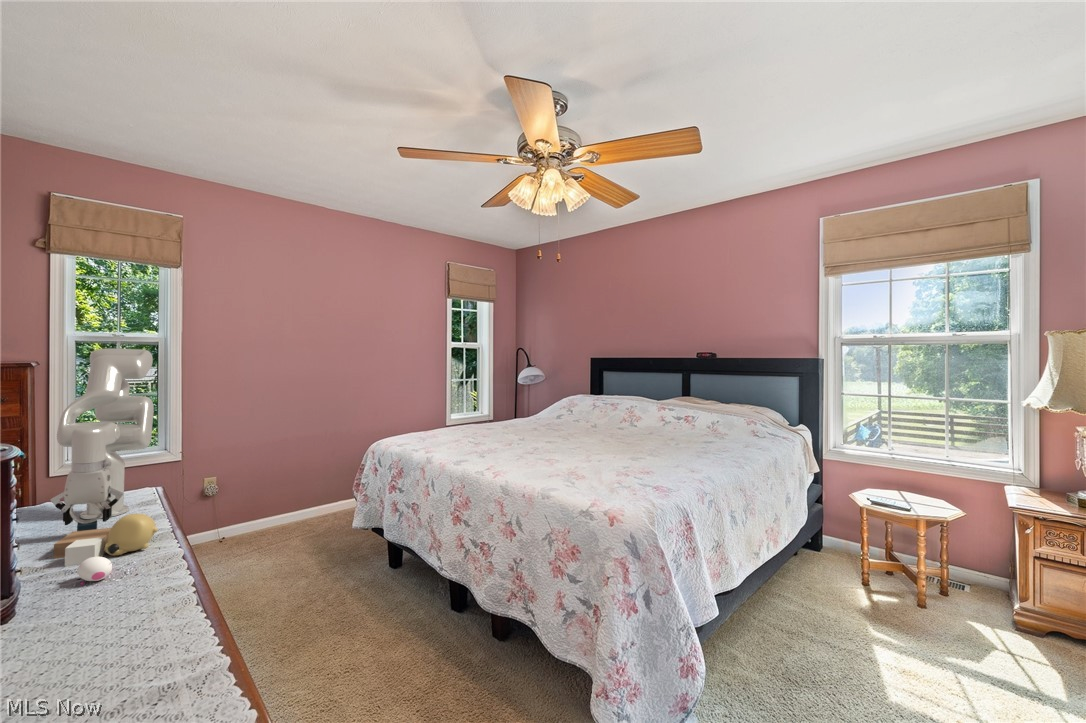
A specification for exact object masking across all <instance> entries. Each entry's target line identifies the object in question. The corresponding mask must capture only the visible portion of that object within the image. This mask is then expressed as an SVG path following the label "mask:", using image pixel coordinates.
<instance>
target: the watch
mask: <svg viewBox="0 0 1086 723" xmlns="http://www.w3.org/2000/svg"><path fill="white" fill-rule="evenodd" d="M92 504H93V505H94V506H95V508H96V509H98V510H99V511H101V513H100V515H99V516H97V517H96V518H92V519H80V518H81V517H80V516H78V515H76V512H75V511H74V506H76V505H75V504H73V505H71V508H70V512H69V513H70V515H71V517H72V518H73V521H74V522H75V523H77V526H76V531H85V530H95V529H98V520H100V519H101V518H100V517H101V516H102V515H103V509H105V507H104V506H103V505H102V504H101V503H92ZM99 518H100V519H99Z"/></svg>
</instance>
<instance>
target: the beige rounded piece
mask: <svg viewBox="0 0 1086 723" xmlns="http://www.w3.org/2000/svg"><path fill="white" fill-rule="evenodd" d="M110 528H111V530H110V532H109V536H108V541H106V544H105V546H104V549H105V550H104V552H105V553H106V554H108V555H109V556H113V557H115V556H118V557H119V556H122V555H123V554H125V553H129V552H135V551H138V550H141V549H142V550H147V549H148V548H149V543H150V542H151V541H152V539H153V537H154V535H155V533H157V532H158V531H159V528H158V527H157V526H156V522H155V521H154V519H153V518H152V517H151V516H149V515H147V514H143V513H130V514H127V515H124V516H122V517H121V518H118V520H117V521H116V522H115V523H114V524H113V525H112V527H110Z"/></svg>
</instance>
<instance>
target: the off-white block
mask: <svg viewBox="0 0 1086 723" xmlns="http://www.w3.org/2000/svg"><path fill="white" fill-rule="evenodd" d="M104 555H105V550H104V537H101V538H92V539H82V540H76V541H74V542H73V543H72V544H70V545H69V546H68V547H66V548H65V557H64V567H71V566H79V565H80V564H81V563H82V562H83V561H84V560H86V559H88V558H91V557H103V556H104Z"/></svg>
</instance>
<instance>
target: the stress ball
mask: <svg viewBox="0 0 1086 723" xmlns="http://www.w3.org/2000/svg"><path fill="white" fill-rule="evenodd" d="M112 563H113V562H111V560H110V559H108V558H106V557H103V556H101V557H91V558H88V559H86V560H84V561H83V562H82V563H81V564H80V565H78V567H77V574H78V577H80V578H81V579H82V580H84V581H82V582H80V585H81V586H84V583H85V581H87V582H97V581H98V582H99V581H101V580H103V579H105V578H107V577H108V576H109V575H110V574H112V572H113V567H114V566H113V564H112Z"/></svg>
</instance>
